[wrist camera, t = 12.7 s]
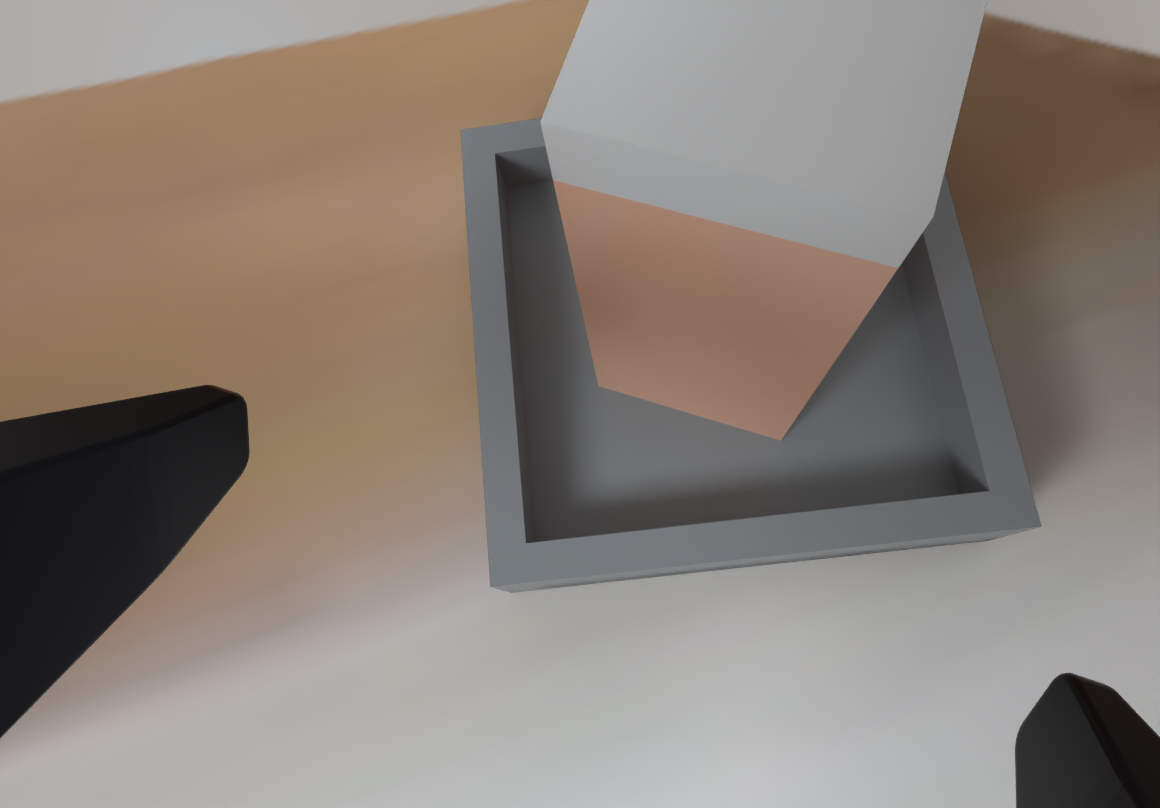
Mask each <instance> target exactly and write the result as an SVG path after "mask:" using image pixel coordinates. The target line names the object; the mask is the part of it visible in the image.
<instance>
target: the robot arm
mask: <svg viewBox="0 0 1160 808" xmlns="http://www.w3.org/2000/svg"><path fill="white" fill-rule="evenodd" d="M248 458H249V434H248V415H247V404H246V402H245V400H244V398H243V397H242V396H241V395H240V394H238V393H235V392H232V391H229V390H226V389H223V388H220V387H217V386H214V385H203V386H197V387H191V388H186V389H180V390H175V391H169V392H164V393H158V394H153V395H147V396H141V397H136V398H130V399H125V400H119V401H114V402H108V403H102V404H97V405H91V406H86V407H80V408H75V409H69V410H63V411H58V412H52V413H47V414H41V415H36V416H30V417H25V418H19V419H13V420H8V421H2V422H0V738H1V737H2V736H3V735H4V734H5V733H6V732H7V731H8V730H9V729H10V728H11V727H12V726H13V725H14V724H15V723H16V722H17V721H18V720H19V719H20V718H21V717H22V716H23V715H24V714H25V713H26V712H27V711H28V710H29V709H30V708H31V707H32V706H33V705H34V704H35V703H36V702H37V701H38V699H39V698H40V697H41V696H42V695H43V694H44V693H45V692H46V691H47V690H48V689H49V688H50V687H51V686H52V685H53V684H54V683H55V682H56V681H57V680H58V679H59V678H60V677H61V676H62V675H63V674H64V673H65V672H66V671H67V670H68V669H69V668H70V667H71V666H72V665H73V664H74V663H75V662H76V661H77V660H78V659H79V658H80V657H81V656H82V655H83V654H84V653H85V652H86V650H87V649H88V648H89V647H90V646H91V645H92V644H93V643H94V642H95V641H96V640H97V639H98V638H99V637H100V636H101V635H102V634H103V633H104V632H105V631H106V630H107V629H108V628H109V627H110V626H111V625H112V624H113V623H114V622H115V621H116V620H117V619H118V618H119V617H120V616H121V615H122V614H123V613H124V612H125V611H126V610H127V609H128V608H129V607H130V606H131V605H132V604H133V603H134V601H135V600H136V599H137V598H138V597H139V596H140V595H141V594H142V593H143V592H144V591H145V590H146V589H147V588H148V587H149V586H150V585H151V584H152V583H153V582H154V581H155V580H156V579H157V578H158V576H159V575H160V574H161V573H162V572H163V571H164V570H165V569H166V567H167V566H168V565H169V564H170V563H171V562H172V560H173V559H174V558H175V557H176V556H177V555H178V553H179V552H180V551H181V550H182V548H183V547H184V546H185V545H186V543H187V542H188V541H189V540H190V538H191V537H192V536H193V535H194V533H195V532H196V531H197V530H198V528H199V527H200V526H201V525H202V523H203V522H204V521H205V520H206V518H207V517H208V516H209V515H210V513H211V512H212V511H213V510H214V508H215V507H216V506H217V505H218V503H219V502H220V501H221V500H222V498H223V497H224V496H225V495H226V493H227V492H228V491H229V490H230V488H231V487H232V486H233V485H234V483H235V482H236V481H237V480H238V478H239V477H240V476H241V474H242V473H243V471H244V469H245V467H246V465H247V462H248ZM1015 768H1016V808H1160V737H1159V736H1158V735H1157V734H1156V733H1155V731H1154V730H1153V729H1152V728H1151V727H1150V726H1149V725H1148V724H1147V723H1146V722H1145V721H1144V720H1143V719H1142V718H1141V717H1140V716H1139V715H1138V714H1137V713H1136V712H1135V711H1134V710H1133V708H1132V707H1131V706H1130V705H1129V704H1128V703H1127V702H1126V701H1125V700H1124V699H1123V698H1122V697H1121V696H1120V695H1119V694H1118V693H1117V692H1116V691H1115V690H1114V689H1113V688H1111V687H1109V686H1107V685H1105V684H1102V683H1099V682H1096V681H1093V680H1090V679H1087V678H1084V677H1081V676H1078V675H1075V674H1073V673H1064V674H1060V675H1059V676H1057V677H1056V678H1055V679H1054V680H1053V681H1052V682H1051V684H1050V685H1049V687H1048V688H1047V689H1046V691H1045V692H1044V694H1043V695H1042V696H1041V698H1040V699H1039V701H1038V702H1037V703H1036V705H1035V706H1034V708H1033V709H1032V710H1031V712H1030V713H1029V715H1028V716H1027V717H1026V719H1025V720H1024V722H1023V723H1022V725H1021V727H1020V729H1019V732H1018V735H1017V739H1016V745H1015Z"/></svg>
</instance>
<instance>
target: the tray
mask: <svg viewBox="0 0 1160 808" xmlns="http://www.w3.org/2000/svg"><path fill="white" fill-rule="evenodd" d="M541 119H542V118H539V119H532V120H525V121H518V122H511V123H504V124H497V125H491V126H484V127H477V128H470V129H463V130H460V131H461V146H462V161H463V177H464V192H465V207H466V222H467V238H468V253H469V268H470V283H471V299H472V314H473V329H474V345H475V360H476V375H477V390H478V406H479V421H480V436H481V451H482V467H483V482H484V497H485V513H486V528H487V543H488V558H489V574H490V587H493V588H496V589H500V590H504V591H508V592H511V593H512V592H521V591H531V590H540V589H549V588H558V587H567V586H576V585H586V584H595V583H604V582H613V581H622V580H631V579H641V578H650V577H659V576H668V575H677V574H686V573H695V572H705V571H714V570H723V569H732V568H741V567H750V566H760V565H769V564H778V563H787V562H796V561H805V560H815V559H824V558H833V557H842V556H851V555H860V554H870V553H879V552H888V551H897V550H906V549H915V548H925V547H934V546H943V545H952V544H961V543H970V542H980V541H989V540H992V539H996V538H1000V537H1004V536H1007V535H1011V534H1015V533H1019V532H1022V531H1026V530H1030V529H1034V528H1037V527H1041V523H1040V520H1039V516H1038V512H1037V509H1036V505H1035V501H1034V498H1033V494H1032V490H1031V487H1030V483H1029V479H1028V476H1027V472H1026V468H1025V465H1024V461H1023V457H1022V454H1021V450H1020V446H1019V443H1018V439H1017V435H1016V432H1015V428H1014V424H1013V421H1012V417H1011V413H1010V410H1009V406H1008V402H1007V399H1006V395H1005V391H1004V388H1003V384H1002V380H1001V376H1000V373H999V369H998V365H997V362H996V358H995V354H994V351H993V347H992V343H991V340H990V336H989V332H988V329H987V325H986V321H985V318H984V314H983V310H982V307H981V303H980V299H979V296H978V292H977V288H976V285H975V281H974V277H973V274H972V270H971V266H970V263H969V259H968V255H967V252H966V248H965V244H964V241H963V237H962V233H961V230H960V226H959V222H958V219H957V215H956V211H955V208H954V204H953V200H952V197H951V193H950V189H949V186H948V182H947V178H946V175H945V172H944V176H943V180H942V184H941V188H940V192H939V196H938V200H937V204H936V208H935V212H934V216H933V218H932V219H931V221H930V222H929V224H928V225H927V227H926V228H925V230H924V231H923V233H922V234H921V236H920V237H919V238H918V240H917V241H916V243H915V244H914V246H913V247H912V249H911V250H910V252H909V253H908V255H907V256H906V258H905V259H904V261H903V262H902V263H901V265H900V266H899V268H898V269H897V271H896V272H895V274H894V275H893V277H892V278H891V280H890V281H889V283H888V284H887V286H886V287H885V288H884V290H883V291H882V293H881V294H880V296H879V297H878V299H877V300H876V302H875V303H874V305H873V306H872V308H871V309H870V311H869V312H868V313H867V315H866V316H865V318H864V319H863V321H862V322H861V324H860V325H859V327H858V328H857V330H856V331H855V333H854V334H853V336H852V337H851V338H850V340H849V341H848V343H847V344H846V346H845V347H844V349H843V350H842V352H841V353H840V355H839V356H838V358H837V359H836V361H835V362H834V363H833V365H832V366H831V368H830V369H829V371H828V372H827V374H826V375H825V377H824V378H823V380H822V381H821V383H820V384H819V386H818V387H817V388H816V390H815V391H814V393H813V394H812V396H811V397H810V399H809V400H808V402H807V403H806V405H805V406H804V408H803V409H802V411H801V412H800V413H799V415H798V416H797V418H796V419H795V421H794V422H793V424H792V425H791V427H790V428H789V430H788V431H787V433H786V434H785V436H784V437H783V438H782V440H781V441H780V440H777V439H774V438H770V437H767V436H764V435H760V434H757V433H754V432H750V431H747V430H744V429H740V428H737V427H734V426H730V425H727V424H723V423H720V422H717V421H713V420H710V419H707V418H703V417H700V416H697V415H693V414H690V413H687V412H683V411H680V410H677V409H673V408H670V407H667V406H663V405H660V404H657V403H653V402H650V401H647V400H643V399H640V398H637V397H633V396H630V395H627V394H623V393H620V392H617V391H613V390H610V389H607V388H603V387H600V386H598V382H597V377H596V373H595V368H594V363H593V359H592V354H591V350H590V345H589V341H588V336H587V332H586V327H585V323H584V318H583V314H582V309H581V305H580V300H579V295H578V291H577V286H576V282H575V277H574V273H573V268H572V264H571V259H570V255H569V250H568V246H567V241H566V237H565V232H564V227H563V223H562V218H561V214H560V209H559V205H558V200H557V196H556V191H555V187H554V182H553V178H552V173H551V169H550V164H549V159H548V155H547V150H546V146H545V141H544V137H543V132H542V128H541V123H540V121H541Z"/></svg>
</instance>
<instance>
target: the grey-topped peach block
mask: <svg viewBox="0 0 1160 808" xmlns="http://www.w3.org/2000/svg"><path fill="white" fill-rule="evenodd" d="M986 4H987V0H589V3H588V5H587V8H586V10H585V12H584V15H583V17H582V20H581V22H580V25H579V27H578V30H577V32H576V35H575V37H574V40H573V42H572V45H571V47H570V50H569V52H568V55H567V57H566V59H565V62H564V64H563V67H562V69H561V72H560V74H559V77H558V79H557V82H556V84H555V87H554V89H553V92H552V94H551V97H550V99H549V102H548V104H547V106H546V109H545V111H544V114H543V116H542V119H541V121H540V123H541V128H542V132H543V137H544V141H545V146H546V150H547V155H548V159H549V164H550V169H551V173H552V178H553V182H554V187H555V191H556V196H557V200H558V205H559V209H560V214H561V218H562V223H563V227H564V232H565V237H566V241H567V246H568V250H569V255H570V259H571V264H572V268H573V273H574V277H575V282H576V286H577V291H578V295H579V300H580V305H581V309H582V314H583V318H584V323H585V327H586V332H587V336H588V341H589V345H590V350H591V354H592V359H593V363H594V368H595V373H596V377H597V382H598V386H600V387H603V388H607V389H610V390H613V391H617V392H620V393H623V394H627V395H630V396H633V397H637V398H640V399H643V400H647V401H650V402H653V403H657V404H660V405H663V406H667V407H670V408H673V409H677V410H680V411H683V412H687V413H690V414H693V415H697V416H700V417H703V418H707V419H710V420H713V421H717V422H720V423H723V424H727V425H730V426H734V427H737V428H740V429H744V430H747V431H750V432H754V433H757V434H760V435H764V436H767V437H770V438H774V439H777V440H780V441H781V440H782V438H783V437H784V436H785V434H786V433H787V431H788V430H789V428H790V427H791V425H792V424H793V422H794V421H795V419H796V418H797V416H798V415H799V413H800V412H801V411H802V409H803V408H804V406H805V405H806V403H807V402H808V400H809V399H810V397H811V396H812V394H813V393H814V391H815V390H816V388H817V387H818V386H819V384H820V383H821V381H822V380H823V378H824V377H825V375H826V374H827V372H828V371H829V369H830V368H831V366H832V365H833V363H834V362H835V361H836V359H837V358H838V356H839V355H840V353H841V352H842V350H843V349H844V347H845V346H846V344H847V343H848V341H849V340H850V338H851V337H852V336H853V334H854V333H855V331H856V330H857V328H858V327H859V325H860V324H861V322H862V321H863V319H864V318H865V316H866V315H867V313H868V312H869V311H870V309H871V308H872V306H873V305H874V303H875V302H876V300H877V299H878V297H879V296H880V294H881V293H882V291H883V290H884V288H885V287H886V286H887V284H888V283H889V281H890V280H891V278H892V277H893V275H894V274H895V272H896V271H897V269H898V268H899V266H900V265H901V263H902V262H903V261H904V259H905V258H906V256H907V255H908V253H909V252H910V250H911V249H912V247H913V246H914V244H915V243H916V241H917V240H918V238H919V237H920V236H921V234H922V233H923V231H924V230H925V228H926V227H927V225H928V224H929V222H930V221H931V219H932V218H933V216H934V212H935V208H936V204H937V200H938V196H939V192H940V188H941V184H942V180H943V176H944V172H945V168H946V164H947V160H948V156H949V152H950V148H951V144H952V140H953V136H954V132H955V128H956V124H957V120H958V116H959V112H960V108H961V104H962V100H963V96H964V92H965V88H966V84H967V80H968V76H969V72H970V68H971V64H972V60H973V56H974V52H975V48H976V44H977V40H978V36H979V32H980V28H981V24H982V20H983V16H984V12H985V8H986Z"/></svg>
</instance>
